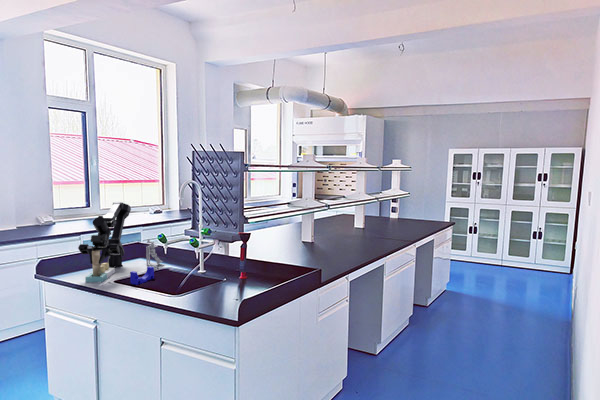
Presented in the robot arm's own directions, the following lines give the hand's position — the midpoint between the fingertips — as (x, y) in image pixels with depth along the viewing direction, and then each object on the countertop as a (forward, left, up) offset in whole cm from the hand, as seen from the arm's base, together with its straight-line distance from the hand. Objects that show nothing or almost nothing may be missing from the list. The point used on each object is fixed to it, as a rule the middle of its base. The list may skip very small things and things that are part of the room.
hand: (95, 263), depth 197 cm
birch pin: (-1, -1, -7) cm, 7 cm away
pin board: (-3, -5, -9) cm, 11 cm away
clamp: (-34, -14, -9) cm, 37 cm away
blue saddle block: (-19, +14, -9) cm, 25 cm away
